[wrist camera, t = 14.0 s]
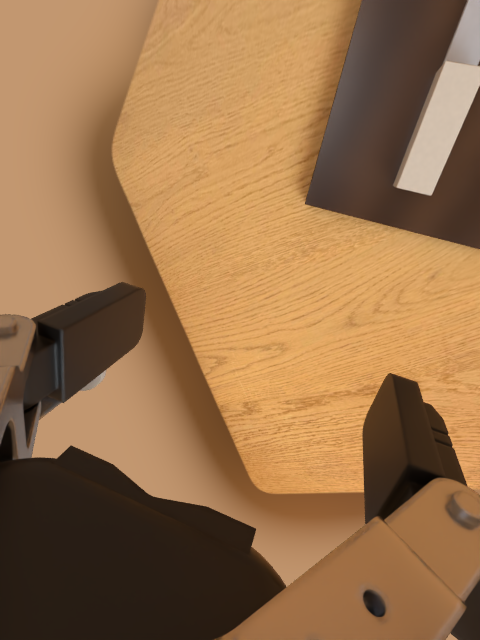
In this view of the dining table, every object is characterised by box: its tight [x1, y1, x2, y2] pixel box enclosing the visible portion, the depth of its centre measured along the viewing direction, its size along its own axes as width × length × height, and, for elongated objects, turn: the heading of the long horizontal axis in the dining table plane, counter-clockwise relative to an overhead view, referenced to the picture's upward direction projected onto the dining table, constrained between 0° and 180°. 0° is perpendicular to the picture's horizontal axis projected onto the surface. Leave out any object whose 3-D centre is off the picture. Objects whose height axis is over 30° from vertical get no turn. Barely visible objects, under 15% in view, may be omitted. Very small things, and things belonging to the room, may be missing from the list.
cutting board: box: [305, 0, 480, 249], centre depth 25 cm, size 16×24×2 cm, turn 168°
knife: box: [393, 0, 480, 196], centre depth 23 cm, size 18×3×3 cm, turn 168°
